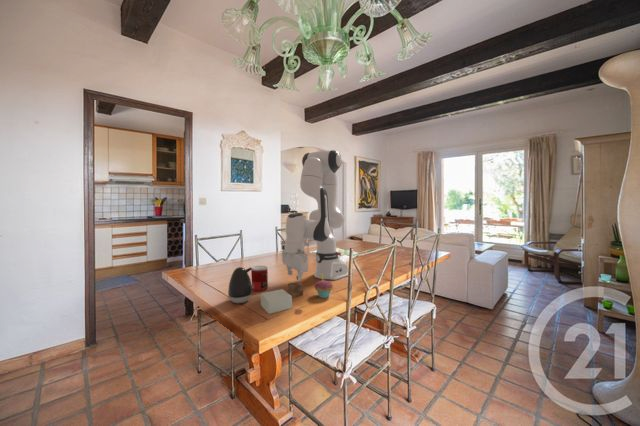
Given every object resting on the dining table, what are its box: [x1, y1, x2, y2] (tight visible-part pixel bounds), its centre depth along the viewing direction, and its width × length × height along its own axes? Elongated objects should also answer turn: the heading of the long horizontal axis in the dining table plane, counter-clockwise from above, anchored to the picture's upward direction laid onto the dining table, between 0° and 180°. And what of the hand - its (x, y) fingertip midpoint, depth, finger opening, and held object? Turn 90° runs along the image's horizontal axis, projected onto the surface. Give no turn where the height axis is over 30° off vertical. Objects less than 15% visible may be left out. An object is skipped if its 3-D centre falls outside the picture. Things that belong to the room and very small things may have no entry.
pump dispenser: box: [227, 266, 253, 304], centre depth 112 cm, size 10×10×15 cm
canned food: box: [250, 265, 269, 293], centre depth 127 cm, size 8×8×11 cm
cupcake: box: [314, 273, 334, 299], centre depth 117 cm, size 9×8×12 cm
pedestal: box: [260, 288, 293, 315], centre depth 106 cm, size 10×10×5 cm
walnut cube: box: [287, 281, 304, 298], centre depth 120 cm, size 5×5×5 cm
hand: (294, 277), depth 119 cm, fingers open, 8 cm apart
